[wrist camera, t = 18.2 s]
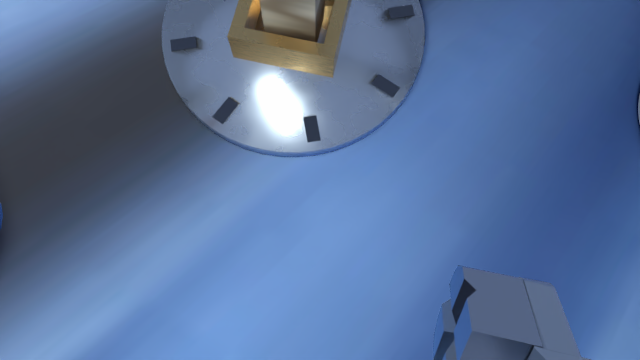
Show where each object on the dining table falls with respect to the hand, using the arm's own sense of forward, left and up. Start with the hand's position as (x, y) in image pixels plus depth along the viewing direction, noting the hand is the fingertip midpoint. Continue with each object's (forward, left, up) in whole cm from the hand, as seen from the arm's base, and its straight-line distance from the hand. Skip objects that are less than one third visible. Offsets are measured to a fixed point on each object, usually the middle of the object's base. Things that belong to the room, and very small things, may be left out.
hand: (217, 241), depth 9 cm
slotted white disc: (+5, -21, -29) cm, 37 cm away
